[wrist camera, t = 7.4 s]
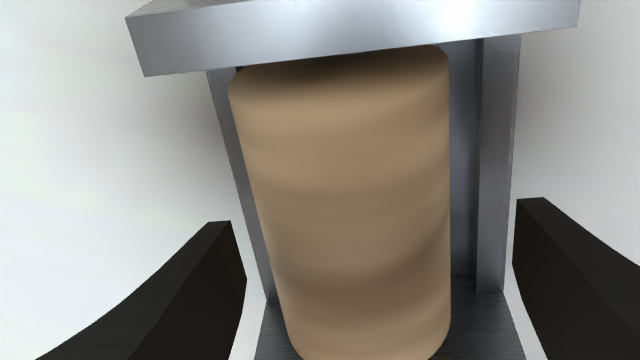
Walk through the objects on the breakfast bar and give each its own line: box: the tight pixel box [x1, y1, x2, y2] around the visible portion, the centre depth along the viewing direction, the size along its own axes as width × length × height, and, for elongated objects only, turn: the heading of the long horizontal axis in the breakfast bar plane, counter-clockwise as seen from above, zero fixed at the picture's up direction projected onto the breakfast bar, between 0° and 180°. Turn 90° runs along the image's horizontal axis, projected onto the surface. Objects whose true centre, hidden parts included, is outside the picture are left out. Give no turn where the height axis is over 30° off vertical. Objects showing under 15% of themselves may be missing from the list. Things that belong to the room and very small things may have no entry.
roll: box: [227, 44, 451, 360], centre depth 14 cm, size 8×5×5 cm, turn 8°
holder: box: [125, 0, 580, 360], centre depth 15 cm, size 14×9×6 cm, turn 8°
